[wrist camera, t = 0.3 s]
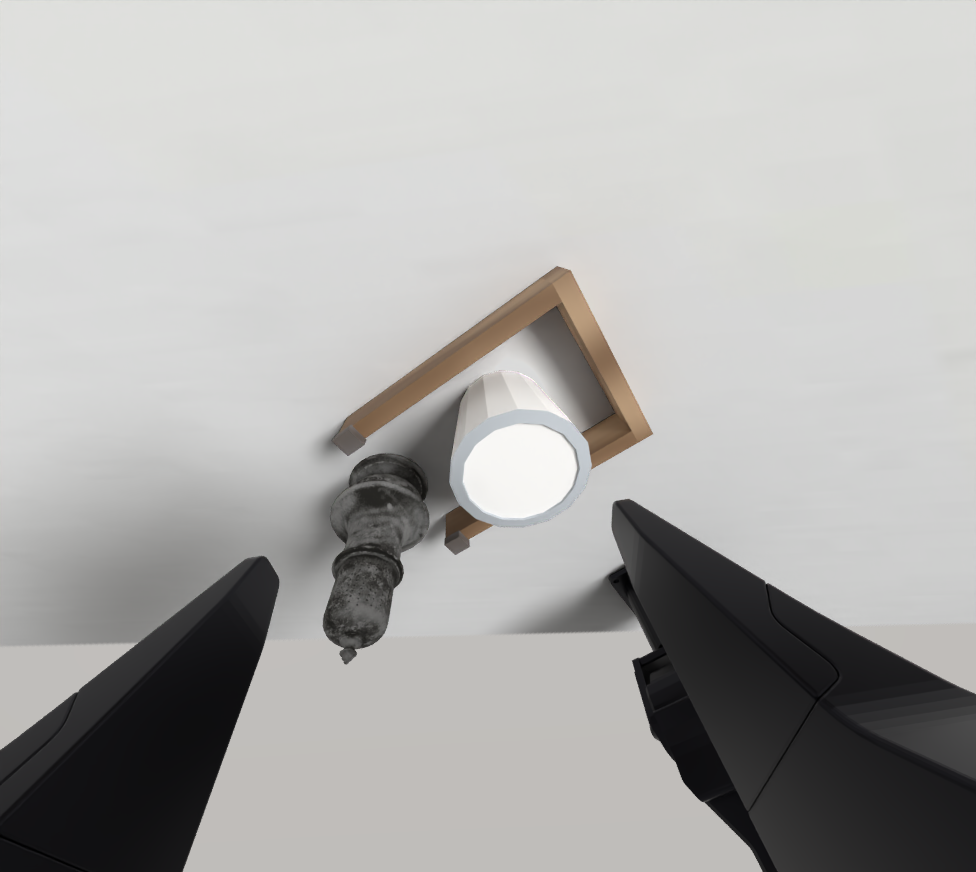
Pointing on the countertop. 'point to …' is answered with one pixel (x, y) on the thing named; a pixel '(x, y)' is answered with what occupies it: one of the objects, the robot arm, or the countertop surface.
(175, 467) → the countertop surface
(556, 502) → the white tapered cup
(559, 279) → the wooden stand
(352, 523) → the salt shaker
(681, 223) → the countertop surface
